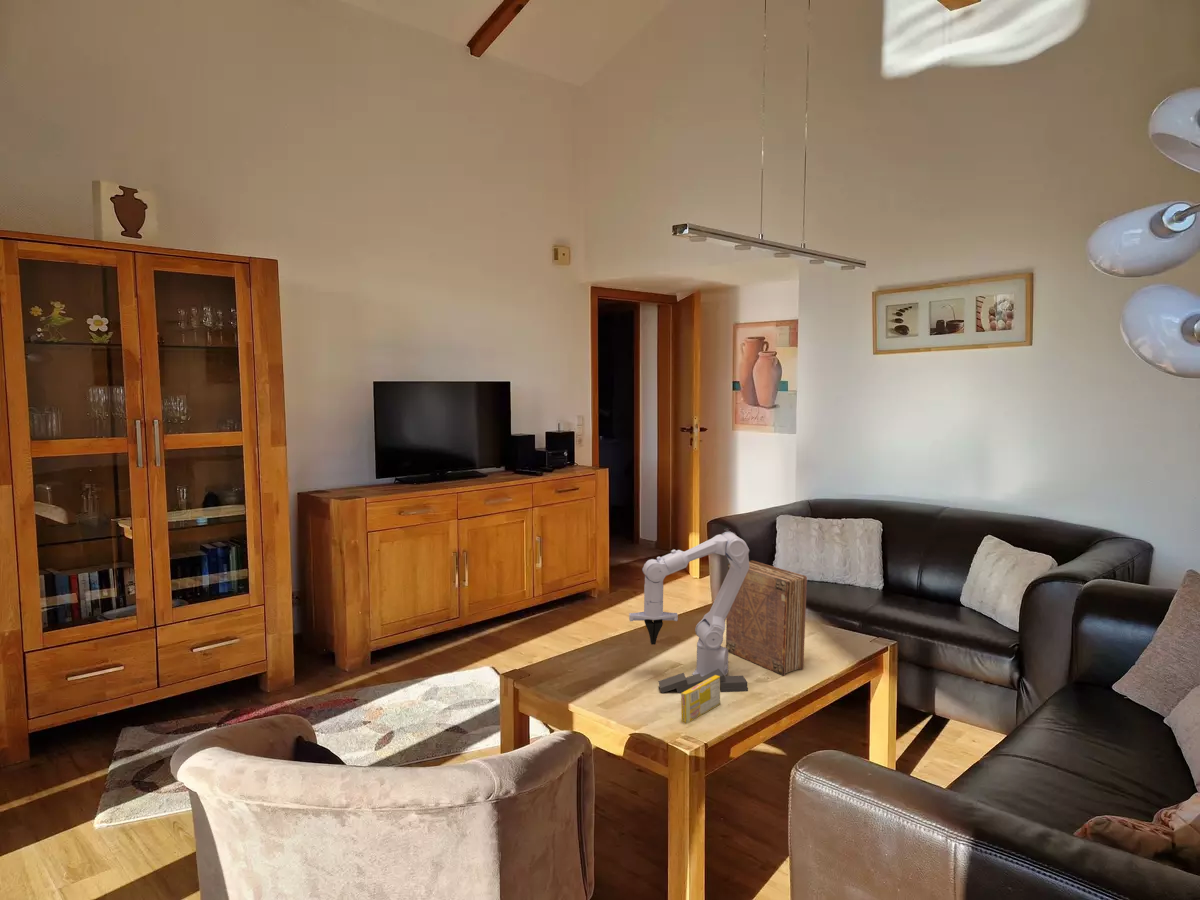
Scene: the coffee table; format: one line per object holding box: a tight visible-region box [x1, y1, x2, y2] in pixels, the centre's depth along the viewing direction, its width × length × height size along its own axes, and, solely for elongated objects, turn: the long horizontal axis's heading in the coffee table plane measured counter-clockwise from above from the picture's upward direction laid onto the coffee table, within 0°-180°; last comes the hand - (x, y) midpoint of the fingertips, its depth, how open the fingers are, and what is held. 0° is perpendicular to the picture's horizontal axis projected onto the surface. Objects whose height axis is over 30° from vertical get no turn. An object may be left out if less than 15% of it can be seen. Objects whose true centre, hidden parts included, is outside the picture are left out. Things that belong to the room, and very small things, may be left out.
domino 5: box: [720, 686, 749, 693], centre depth 231 cm, size 2×5×8 cm
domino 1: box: [658, 672, 688, 694], centre depth 230 cm, size 2×5×8 cm
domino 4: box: [720, 675, 748, 688], centre depth 232 cm, size 2×5×8 cm
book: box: [725, 559, 808, 677], centre depth 251 cm, size 25×9×30 cm, turn 35°
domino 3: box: [702, 669, 726, 682], centre depth 231 cm, size 2×5×8 cm
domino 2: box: [675, 673, 703, 694], centre depth 230 cm, size 2×5×8 cm
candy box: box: [680, 675, 721, 724], centre depth 215 cm, size 16×2×8 cm, turn 138°
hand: (653, 643), depth 238 cm, fingers closed
